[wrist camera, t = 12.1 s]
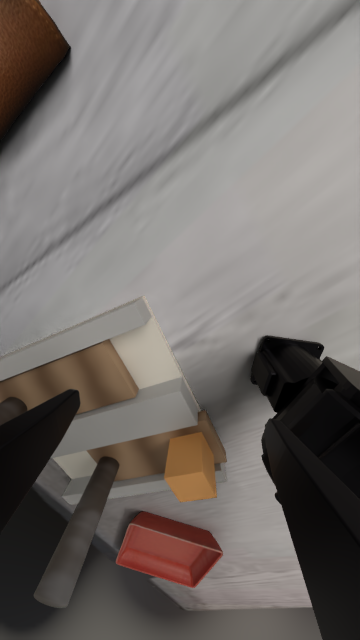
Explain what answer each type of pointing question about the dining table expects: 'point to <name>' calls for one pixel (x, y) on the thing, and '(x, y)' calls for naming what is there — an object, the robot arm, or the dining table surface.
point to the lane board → (126, 416)
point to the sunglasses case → (25, 55)
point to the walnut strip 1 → (70, 381)
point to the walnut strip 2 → (111, 467)
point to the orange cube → (190, 468)
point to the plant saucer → (168, 549)
